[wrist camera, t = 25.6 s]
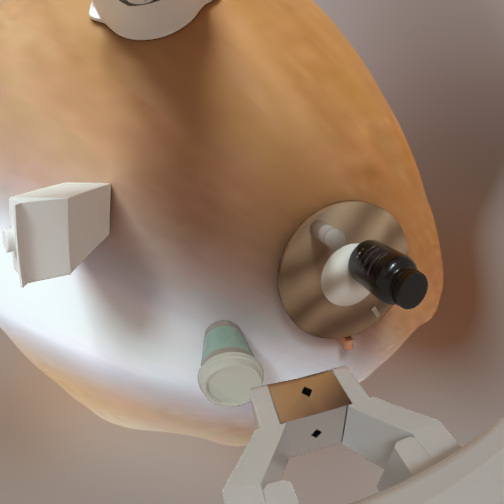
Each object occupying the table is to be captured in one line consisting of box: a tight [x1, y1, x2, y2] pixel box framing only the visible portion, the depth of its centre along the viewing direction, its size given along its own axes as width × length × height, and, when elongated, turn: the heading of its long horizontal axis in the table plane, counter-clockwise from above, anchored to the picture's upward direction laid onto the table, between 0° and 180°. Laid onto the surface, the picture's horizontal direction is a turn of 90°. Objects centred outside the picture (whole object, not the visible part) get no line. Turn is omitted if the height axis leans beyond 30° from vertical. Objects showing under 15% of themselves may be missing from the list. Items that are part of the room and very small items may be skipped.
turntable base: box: [338, 336, 353, 351], centre depth 46 cm, size 22×18×4 cm
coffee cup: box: [198, 321, 263, 407], centre depth 41 cm, size 8×8×12 cm
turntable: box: [278, 200, 408, 339], centre depth 42 cm, size 22×22×8 cm
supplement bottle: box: [349, 240, 428, 309], centre depth 38 cm, size 7×7×12 cm
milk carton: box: [3, 182, 111, 287], centre depth 28 cm, size 7×7×19 cm
